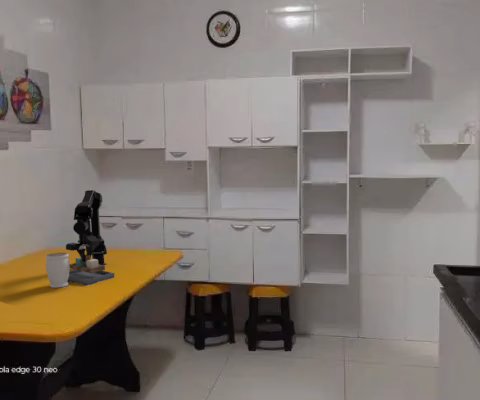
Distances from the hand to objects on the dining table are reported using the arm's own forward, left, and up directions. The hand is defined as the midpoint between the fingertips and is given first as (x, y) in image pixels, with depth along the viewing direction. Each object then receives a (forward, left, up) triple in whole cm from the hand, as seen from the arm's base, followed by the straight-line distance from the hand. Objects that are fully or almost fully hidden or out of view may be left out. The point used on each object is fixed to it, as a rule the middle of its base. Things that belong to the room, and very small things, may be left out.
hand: (86, 261), depth 247 cm
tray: (0, 0, -9) cm, 9 cm away
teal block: (-4, 0, -3) cm, 5 cm away
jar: (+1, -16, -9) cm, 18 cm away
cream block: (+5, 0, -3) cm, 5 cm away
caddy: (0, 0, -4) cm, 4 cm away
